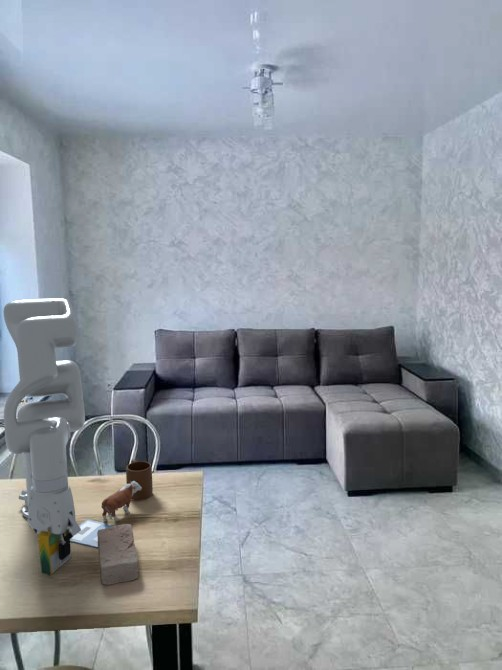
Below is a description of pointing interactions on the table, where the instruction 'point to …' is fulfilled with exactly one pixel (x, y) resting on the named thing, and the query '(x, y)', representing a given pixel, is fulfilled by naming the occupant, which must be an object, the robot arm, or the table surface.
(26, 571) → the table surface
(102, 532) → the brick
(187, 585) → the table surface
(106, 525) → the plan sheet
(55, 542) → the crayon box
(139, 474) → the mug
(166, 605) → the table surface
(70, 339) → the robot arm
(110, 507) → the bull figurine
